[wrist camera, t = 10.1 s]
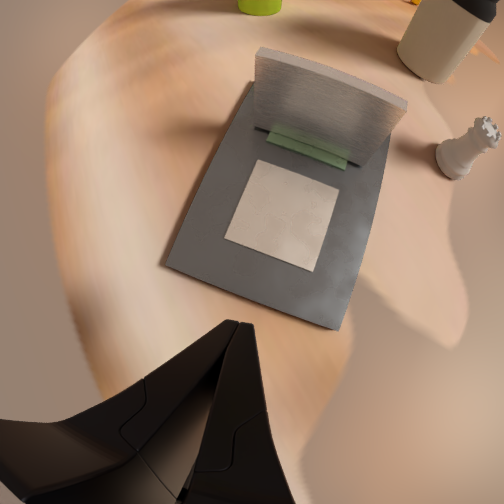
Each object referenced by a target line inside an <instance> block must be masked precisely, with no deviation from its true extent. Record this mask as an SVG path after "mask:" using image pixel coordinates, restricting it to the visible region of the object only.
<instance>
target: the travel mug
mask: <svg viewBox="0 0 504 504" xmlns="http://www.w3.org/2000/svg"><path fill="white" fill-rule="evenodd" d="M498 1H499V0H421V2H420V4H419V6H418V8H417V10H416V12H415V14H414V16H413V18H412V20H411V22H410V24H409V26H408V28H407V30H406V32H405V34H404V36H403V37H402V39H401V41H400V43H399V45H398V47H397V53H398V55H399V57H400V59H401V60H402V62H403V63H404V64H405V65H406V66H407V67H408V68H409V69H410V70H411V71H412V72H414V73H415V74H416V75H418V76H420V77H421V78H423V79H425V80H427V81H429V82H431V83H435V84H443V83H445V82H446V81H447V79H448V78H449V77H450V76H451V74H452V73H453V72H454V70H455V69H456V68H457V67H458V65H459V64H460V63H461V62H462V60H463V59H464V58H465V56H466V55H467V54H468V52H469V51H470V50H471V48H472V47H473V46H474V45H475V43H476V42H477V40H478V39H479V37H480V36H481V35H482V34H483V32H484V31H485V29H486V28H487V27H488V25H489V24H490V22H491V21H492V20H493V19H494V17H495V16H496V3H497V2H498Z"/></svg>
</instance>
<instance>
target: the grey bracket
mask: <svg viewBox="0 0 504 504" xmlns="http://www.w3.org/2000/svg"><path fill="white" fill-rule="evenodd" d="M407 103H408V101H406V100H404V99H403V98H401V97H399V96H397V95H395V94H393V93H390V92H388V91H386V90H384V89H382V88H380V87H378V86H376V85H373V84H371V83H369V82H366V81H364V80H362V79H359V78H357V77H355V76H352V75H350V74H347V73H345V72H342V71H339V70H337V69H334V68H331V67H328V66H326V65H323V64H320V63H317V62H314V61H311V60H307V59H304V58H301V57H298V56H294V55H291V54H287V53H284V52H280V51H276V50H272V49H268V48H264V47H260V49H259V50H258V52H257V53H256V55H255V84H254V126H256V127H259V128H262V129H265V130H269V131H272V132H275V133H278V134H281V135H283V136H286V137H289V138H292V139H295V140H298V141H300V142H303V143H306V144H309V145H311V146H314V147H316V148H319V149H322V150H324V151H327V152H329V153H332V154H334V155H337V156H339V157H342V158H344V159H346V160H349V161H351V162H353V163H356V164H358V165H360V166H362V167H364V166H365V164H366V163H367V162H368V161H369V159H370V158H371V157H372V156H373V154H374V153H375V152H376V151H377V149H378V148H379V147H380V145H381V144H382V143H383V142H384V140H385V139H386V138H387V136H388V135H389V134H390V133H391V131H392V130H393V129H394V127H395V126H396V125H397V123H398V122H399V121H400V119H401V118H402V117H403V116H404V114H405V113H406V112H407Z"/></svg>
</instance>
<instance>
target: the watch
mask: <svg viewBox="0 0 504 504" xmlns="http://www.w3.org/2000/svg"><path fill="white" fill-rule="evenodd" d="M420 1H421V0H412V1H411V2H412V3H414V4H416V5H418V4H419V3H420Z"/></svg>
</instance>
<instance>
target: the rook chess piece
mask: <svg viewBox="0 0 504 504" xmlns="http://www.w3.org/2000/svg"><path fill="white" fill-rule="evenodd" d="M491 122H492V119H491V118H490V117H488V118H487V117H486V116H484V117H483V118H476V119H475V121H474V127H470V128H469V129H468V132H467V133H466V134H465V135H463V136H461V137H460V138H458V139H448V140H445V141H443V142H442V143H441V144H439V145H438V146H437V148H436V160H437V164H438V166H439V168H440V169H441V171H442V172H443V173H444V174H445V175H446V176H448V177H449V178H451V179H454V180H461V179H462V178H464V176H466V175H467V174H468V173H469V171H470V169H471V167H472V164H473V161H474V160H475V159H476V158H477V157H478V155H480V154H481V153H486V152H487V150H488V147H490V148H494V149H495V148H497V146H498V141H499V140H500V137H501V132H498V133H497V131H496V130H497V129H498V126H497V125H496V124H495V125H492V124H491Z"/></svg>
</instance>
